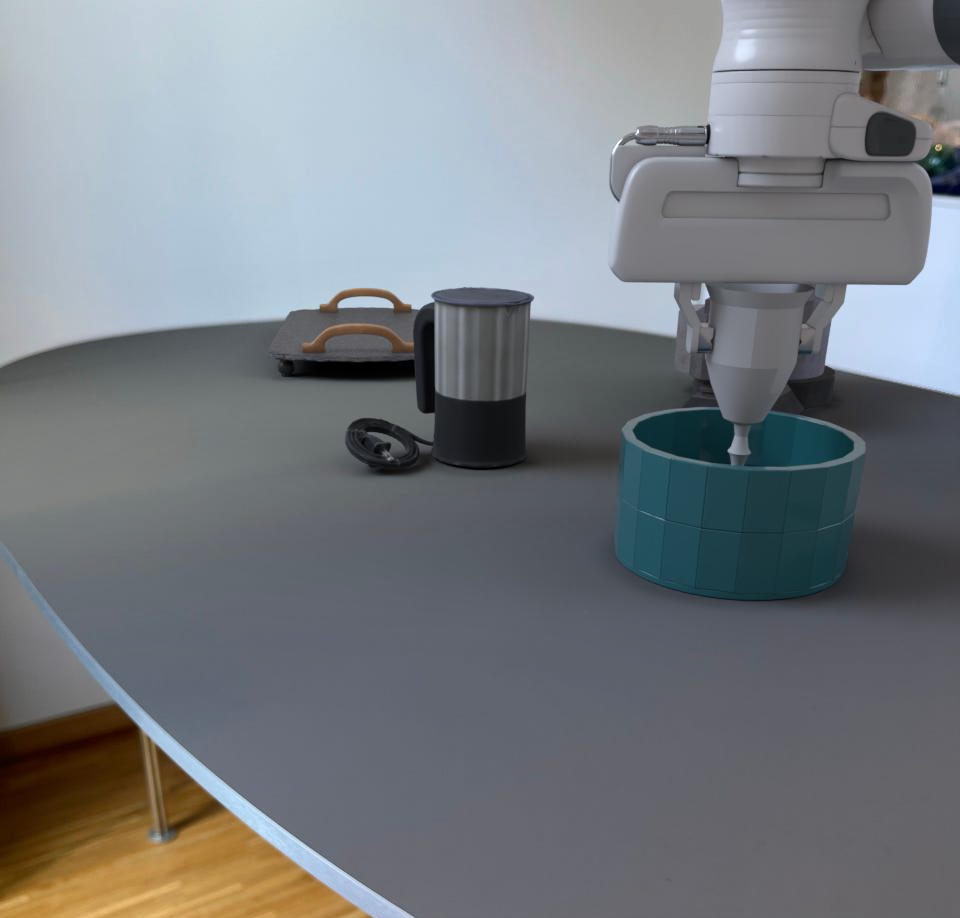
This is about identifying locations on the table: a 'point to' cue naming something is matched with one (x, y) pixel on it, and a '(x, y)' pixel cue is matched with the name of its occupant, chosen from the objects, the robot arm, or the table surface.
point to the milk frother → (463, 382)
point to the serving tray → (346, 332)
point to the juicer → (802, 388)
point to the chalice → (752, 350)
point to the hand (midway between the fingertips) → (752, 352)
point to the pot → (736, 503)
